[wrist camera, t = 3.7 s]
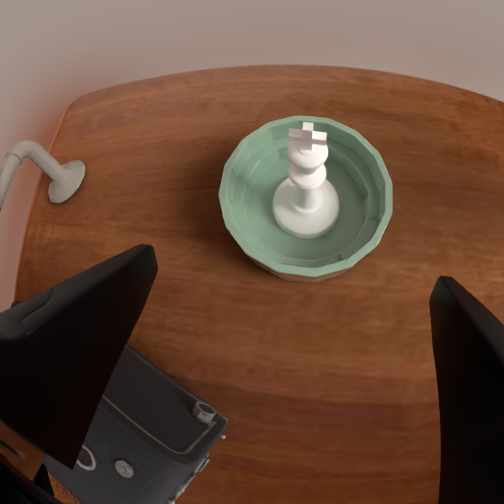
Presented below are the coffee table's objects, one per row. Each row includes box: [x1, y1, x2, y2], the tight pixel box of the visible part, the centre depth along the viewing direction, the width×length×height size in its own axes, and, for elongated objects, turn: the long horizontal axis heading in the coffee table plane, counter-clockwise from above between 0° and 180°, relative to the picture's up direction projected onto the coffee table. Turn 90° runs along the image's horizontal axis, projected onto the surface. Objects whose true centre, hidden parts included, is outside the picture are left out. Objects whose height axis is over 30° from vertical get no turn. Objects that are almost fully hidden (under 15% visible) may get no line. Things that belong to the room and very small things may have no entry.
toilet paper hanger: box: [0, 140, 85, 210], centre depth 19 cm, size 25×8×5 cm
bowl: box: [219, 115, 392, 283], centre depth 20 cm, size 11×11×4 cm
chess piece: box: [273, 122, 340, 239], centre depth 17 cm, size 5×5×10 cm
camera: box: [11, 301, 228, 504], centre depth 16 cm, size 11×11×15 cm
